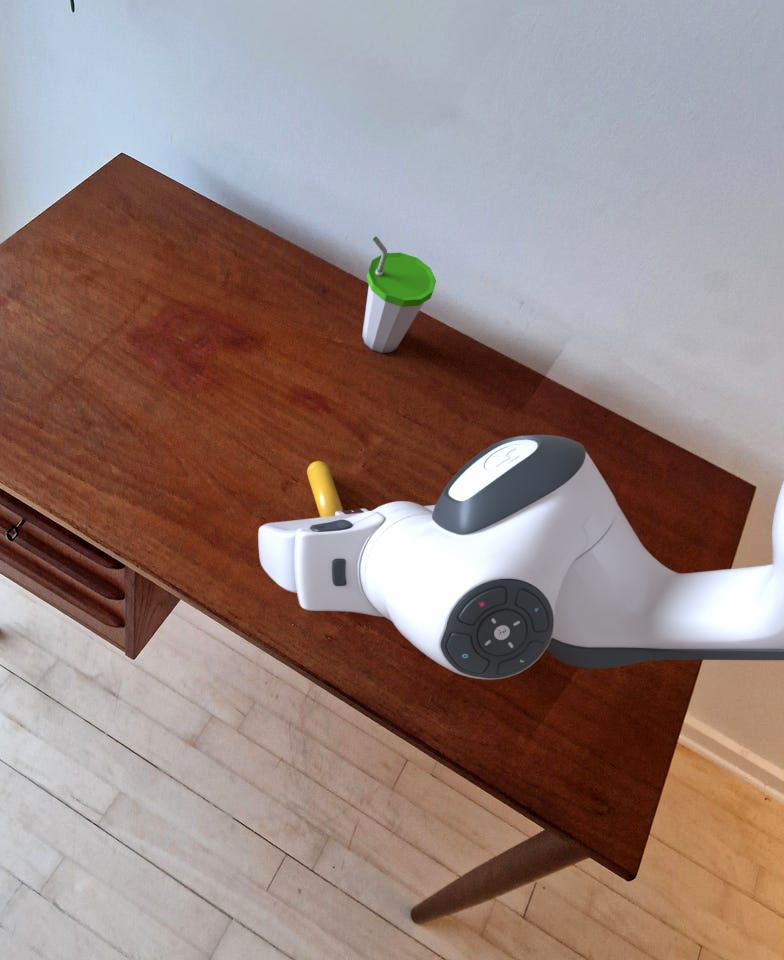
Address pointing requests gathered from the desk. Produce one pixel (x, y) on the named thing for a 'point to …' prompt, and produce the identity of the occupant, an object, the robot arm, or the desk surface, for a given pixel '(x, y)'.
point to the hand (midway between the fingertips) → (349, 517)
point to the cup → (394, 297)
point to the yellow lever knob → (323, 489)
